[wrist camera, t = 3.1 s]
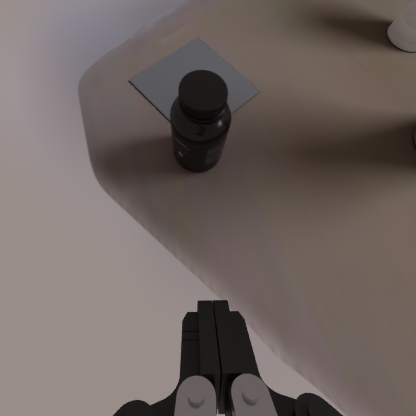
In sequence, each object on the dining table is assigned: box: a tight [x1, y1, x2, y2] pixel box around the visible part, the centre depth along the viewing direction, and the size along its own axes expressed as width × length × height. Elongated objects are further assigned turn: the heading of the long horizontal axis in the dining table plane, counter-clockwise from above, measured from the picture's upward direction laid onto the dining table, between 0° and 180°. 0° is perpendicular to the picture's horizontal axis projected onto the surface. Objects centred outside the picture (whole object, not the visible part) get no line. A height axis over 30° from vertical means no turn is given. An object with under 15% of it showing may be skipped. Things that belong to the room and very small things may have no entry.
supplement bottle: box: [170, 69, 231, 172], centre depth 27 cm, size 7×7×12 cm
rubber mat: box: [129, 37, 260, 121], centre depth 36 cm, size 15×15×1 cm
